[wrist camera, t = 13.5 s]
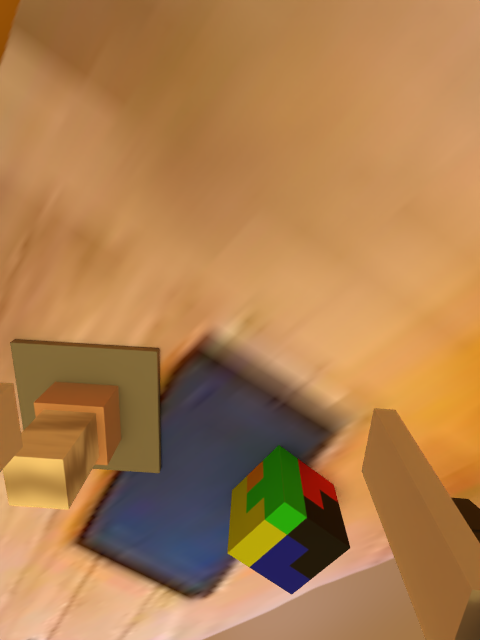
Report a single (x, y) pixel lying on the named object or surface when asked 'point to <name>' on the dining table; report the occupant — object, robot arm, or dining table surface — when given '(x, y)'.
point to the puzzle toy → (286, 521)
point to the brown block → (52, 460)
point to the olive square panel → (103, 369)
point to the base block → (88, 410)
